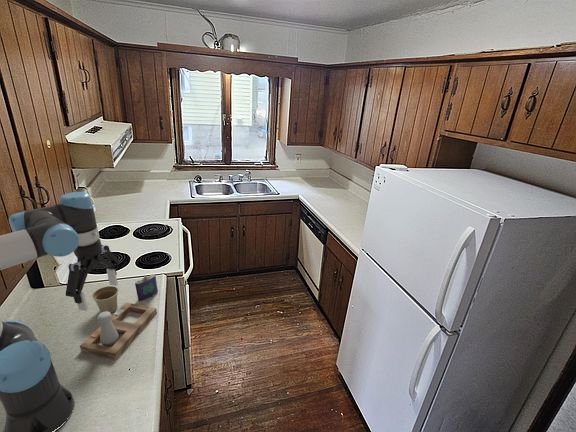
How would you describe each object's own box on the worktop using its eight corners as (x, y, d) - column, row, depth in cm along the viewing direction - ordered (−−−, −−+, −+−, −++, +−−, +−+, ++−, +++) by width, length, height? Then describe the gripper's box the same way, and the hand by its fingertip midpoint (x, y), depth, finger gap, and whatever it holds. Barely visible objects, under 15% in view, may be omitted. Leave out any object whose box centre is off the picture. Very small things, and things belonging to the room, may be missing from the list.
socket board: (116, 358, 105) (114, 352, 104) (81, 351, 107) (79, 345, 106) (156, 312, 127) (156, 307, 126) (126, 307, 129) (125, 301, 128)
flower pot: (123, 300, 133) (119, 284, 129) (120, 314, 125) (116, 297, 121) (98, 304, 130) (94, 288, 126) (94, 319, 122) (89, 302, 118)
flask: (156, 289, 141) (153, 270, 136) (159, 292, 139) (156, 272, 135) (136, 299, 134) (133, 279, 129) (140, 302, 132) (136, 281, 128)
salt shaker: (111, 350, 108) (104, 321, 103) (97, 347, 109) (90, 318, 104) (123, 337, 114) (116, 310, 108) (109, 335, 114) (102, 307, 109)
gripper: (61, 263, 83) (79, 323, 91) (124, 226, 106) (133, 277, 114) (38, 259, 84) (57, 319, 93) (105, 223, 107) (115, 274, 115)
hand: (99, 296), depth 103 cm, fingers open, 13 cm apart
